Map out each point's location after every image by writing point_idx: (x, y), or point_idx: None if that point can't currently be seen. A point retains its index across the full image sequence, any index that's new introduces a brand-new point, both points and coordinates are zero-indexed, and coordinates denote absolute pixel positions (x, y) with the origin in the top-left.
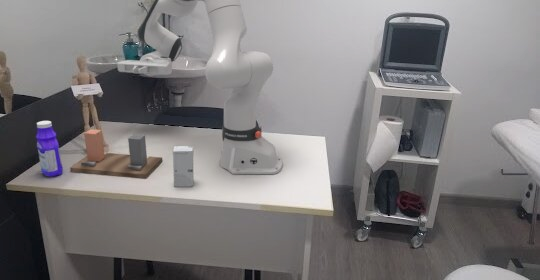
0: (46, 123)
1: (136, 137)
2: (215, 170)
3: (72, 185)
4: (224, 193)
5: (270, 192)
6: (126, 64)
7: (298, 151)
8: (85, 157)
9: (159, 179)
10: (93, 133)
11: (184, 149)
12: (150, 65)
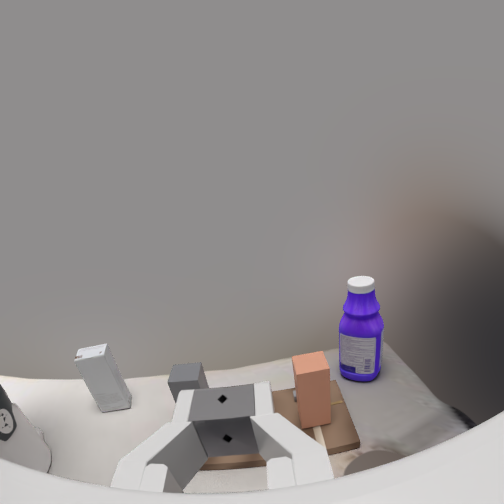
0: (350, 280)
1: (183, 369)
2: (63, 443)
3: None
4: (68, 391)
5: (19, 395)
6: (478, 428)
7: None
8: (347, 415)
9: (157, 409)
10: (299, 356)
11: (89, 348)
12: (58, 477)
